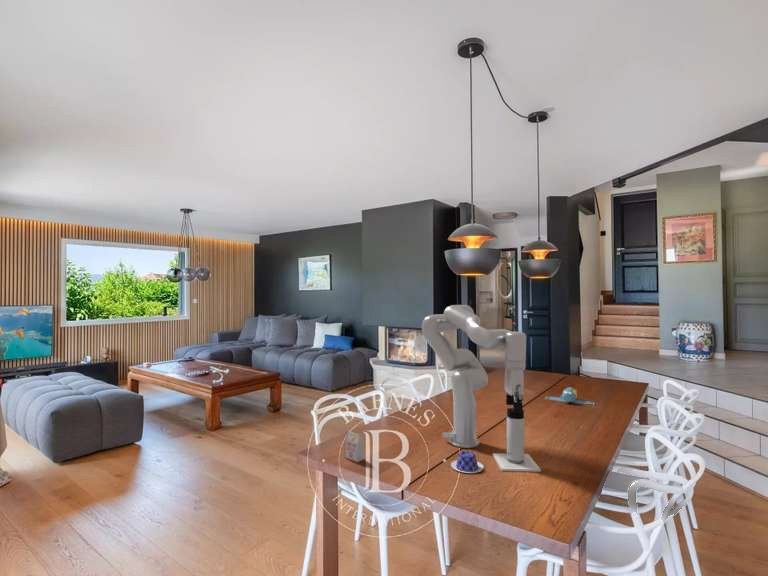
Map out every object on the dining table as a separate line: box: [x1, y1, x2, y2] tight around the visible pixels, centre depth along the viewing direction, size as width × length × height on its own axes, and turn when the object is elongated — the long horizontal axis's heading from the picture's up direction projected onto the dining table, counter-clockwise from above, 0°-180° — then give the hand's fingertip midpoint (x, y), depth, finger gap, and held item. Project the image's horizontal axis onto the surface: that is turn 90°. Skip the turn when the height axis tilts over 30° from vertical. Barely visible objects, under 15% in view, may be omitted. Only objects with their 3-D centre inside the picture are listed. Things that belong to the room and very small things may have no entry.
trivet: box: [492, 452, 542, 473], centre depth 153 cm, size 14×14×1 cm
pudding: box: [450, 450, 484, 474], centre depth 150 cm, size 12×12×5 cm
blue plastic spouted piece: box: [544, 386, 596, 406], centre depth 240 cm, size 28×9×15 cm
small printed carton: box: [344, 430, 364, 463], centre depth 157 cm, size 4×7×10 cm, turn 49°
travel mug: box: [506, 407, 525, 464], centre depth 153 cm, size 6×7×20 cm
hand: (513, 408), depth 154 cm, fingers open, 9 cm apart
